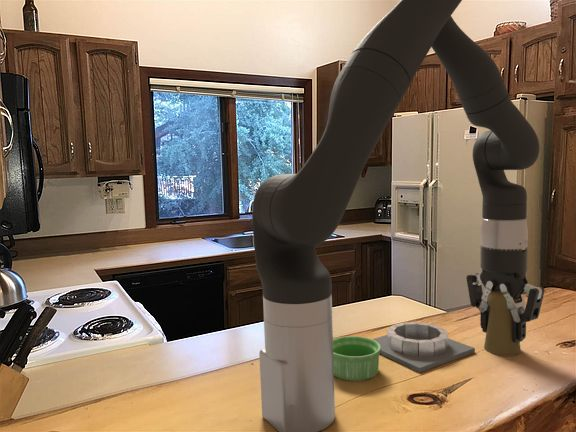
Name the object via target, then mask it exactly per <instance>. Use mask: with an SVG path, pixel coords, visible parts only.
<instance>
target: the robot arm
mask: <svg viewBox="0 0 576 432" xmlns="http://www.w3.org/2000/svg"><path fill="white" fill-rule="evenodd" d="M462 1H463V0H399V2H398V3H396V4H395V6H394V7H392V9H391V10H389V12H388V13H386V14H385V16H383V17H382V18H380V20H379V21H378V22H377V23H376V24H374V26H373V27H372V28H371V29H370V30H369V31H368V32H367V34H365V35H364V37H362V39H361V40H360V41H359V42H358V44H357V45H356V46H355V47H354V49H353V50H352V53H351V54H350V56H349V58H347V61H346V62H345V63H344V66H343V67H342V69H341V70H340V72H339V73H338V75H337V77H336V79H335V81H334V84H333V87H332V89H331V94H330V98H329V105H328V106H329V107H328V116H327V122H326V125H325V129H324V131H323V134H322V136H321V138H320V140H319V142H318V144H317V145H316V146H315V148H314V150H313V151H312V153H311V155H310V156H309V157H308V159H307V160H306V162H304V165H303V166H302V167H301V168H300V170H299V171H298V172H297V173H280V174H276V175H273V176H271V177H268V178H267V179H265V180H264V181H263V182H262V183H261V184H260V186H259V187H258V188H257V190H256V192H255V195H254V198H253V202H252V210H251V211H252V212H251V215H252V216H251V220H252V233H253V245H254V246H253V247H254V258H255V267H256V271H257V274H258V277H259V279H260V284H261V287H262V303H263V305H262V306H263V309H262V310H263V327H264V328H263V329H264V330H263V332H264V348H263V349H260V350H259V374H260V375H259V376H260V377H259V378H260V397H261V398H260V399H261V416H262V418H263V419H265V420H266V421H267V422H268V423H269V424H270V425H271V426H272V427H273V428H274V429H275V430H276V431H278V432H320V431H323V430H325V429H326V428H328V427H329V426H331V425H332V424H333V422H334V420H335V418H336V407H335V406H336V405H335V403H336V401H335V399H336V397H335V376H334V361H333V339H334V335H333V332H334V331H333V298H332V297H333V295H332V293H333V290H332V287H333V286H332V284H333V283H332V276H331V274H330V272H329V270H328V269H327V268H326V266H324V265H323V263H322V261H321V259H320V258H319V256H318V254H317V252H316V247H317V246H319V245H321V244H323V243H325V242H326V241H327V240H328V239H330V238H331V236H333V234H334V232H336V230H337V228H338V226H339V225H340V222H341V221H342V218H343V217H344V214H345V212H346V210H347V208H348V206H349V203H350V200H351V198H352V196H353V194H354V191H355V188H356V186H357V184H358V182H359V180H360V177H361V175H362V173H363V170H364V168H365V166H366V164H367V162H368V160H369V158H370V157H371V155H372V153H373V151H374V149H375V147H376V146H377V144H378V142H379V140H380V139H381V136H382V134H383V133H384V131H385V129H386V127H387V125H388V123H389V122H390V120H391V119H392V117H393V116H394V113H395V112H396V111H397V109H398V107H399V106H400V104H401V102H402V100H403V98H404V97H405V95H406V93H407V92H408V90H409V88H410V86H411V84H412V82H413V80H414V78H415V76H416V75H417V72H418V70H419V69H420V67H421V66H422V64H423V61H424V60H425V58H426V56H427V55H428V53H429V52H430V50H431V49H432V50H433V51H434V53H435V54H436V56H437V58H438V59H439V61H440V64H441V65H442V66H443V68H444V70H446V73H447V75H448V77H449V79H450V80H451V82H452V85H453V87H454V89H455V92H456V94H457V97H458V99H459V101H460V104H461V106H462V108H463V110H464V113H465V115H466V118H467V120H468V121H469V122H470V124H471V125H473V126H475V127H479V128H484V129H488V130H486V131H484V132H482V133H480V134H479V135H478V136H477V138H476V140H475V141H474V144H473V147H472V161H473V167H474V170H475V173H476V177H477V180H478V184H479V187H480V192H481V196H482V206H481V207H482V211H481V212H482V213H481V214H482V218H481V219H482V220H481V226H480V263H479V264H480V268H481V273H476V272H475V273H472V274H469V275H468V274H467V276H466V278H465V279H466V284H467V291H468V297H469V301H470V305H471V307H473V308H477V309H478V311H479V313H480V323H479V324H480V328H481V331H482V332H483V333H485V334H486V332H487V325H488V319H489V313H490V306H489V304H488V302H487V297H488V294H489V293H490V292H492V291H500V292H502V294H503V295H504V296H505V298H506V300H507V307H508V309H509V310H511V313H512V316H513V319H514V321H513V322H512V341H513V342H516V343H519V342H520V343H521V342H524V340H525V339H526V337H527V323H528V322H531V321H534V320H538V319H539V316H540V312H541V307H542V304H543V299H544V295H545V287H543V286H535V285H533V284H530V283H529V282H528V279H527V276H526V273H527V270H528V249H529V248H528V247H529V246H528V243H529V238H528V237H529V231H528V224H527V207H528V206H527V201H528V196H527V189H526V188H525V187H524V186H522V185H520V184H516V183H514V182H510V180H508V178H507V175H506V172H505V171H520V170H526V169H529V168H531V167H532V166H533V165H534V164H535V163H536V162H537V160H538V158H539V156H540V141H539V138H538V134H537V133H536V131H535V130H534V128H533V127H532V125H531V124H530V123H529V121H528V120H527V118H526V117H525V116H524V115H523V114H522V113H521V111H520V110H519V109H518V107H517V106H516V105H515V104H514V102H513V101H512V100H511V97H510V94H509V92H508V90H507V87H506V84H505V82H504V79H503V76H502V73H501V71H500V69H499V67H498V66H497V64H496V62H495V61H494V59H493V58H492V57H491V56H490V54H488V53H487V51H486V50H484V49H483V48H482V47H481V46H480V45H478V44H477V43H476V42H475V41H474V40H473V39H472V38H470V37H469V36H468V35H467V34H466V33H465V31H463V29H461V27H460V26H459V25H458V24H457V22H455V20H454V18H453V16H452V15H453V14H454V12H455V11H456V9H457V8H458V7H459V5H460V4H461V2H462ZM482 285H483V286H482ZM483 288H484V291H483ZM524 292H525V297H526V298H527V300H525V298H524V294H523V293H524ZM518 298H519V303H514V300H515V299H518Z"/></svg>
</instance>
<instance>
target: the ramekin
mask: <svg viewBox="0 0 576 432" xmlns="http://www.w3.org/2000/svg"><path fill="white" fill-rule="evenodd" d="M372 339H373V338H370V337H365V336H358V335H357V336H356V335H352V336H351V335H350V336H349V335H348V336H347V335H346V336H340V337H335V338H333V361H334V377H336V378H337V379H341V380H344V381H349V380H350V381H351V382H357V381H358V382H360V381H359V380H361V381H366V379H367V380H369V378H370V379H371V378H373V377H375V376H376V375H377V373H379V372H378V371H379V365H380V364H379V363H380V361H379V359H380V354H379V353H380V350H381V346H380V344H379V343H378V342H376V341H375V340H372ZM352 380H353V381H352Z"/></svg>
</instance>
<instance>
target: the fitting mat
mask: <svg viewBox="0 0 576 432" xmlns="http://www.w3.org/2000/svg"><path fill="white" fill-rule="evenodd" d="M404 338H407V339H414V340H431V339H428V338H422V337H404ZM371 339H372V340H375V341H376V342H378V343H379V344H380V346H381V350H380V353H379V355H381V356H383V357H386V358H387V359H389V360H391V359H392V360H391V361H393V362H396V363H397V364H399V365H403V366H405V367H407V368H408V369H410V370H413V371H414V372H417V373H418V374H419V373H422V372H425V371H428V370H430V369H433V368H436V367H438V366H442V365H444V364H447V363H449V362H452V361H455V360H458V359H461V358H464V357H466V356H468V355H472V354H475V353H476V352H475V351H476V350H475V349H476V348H475V347H473V346H470V345H467V344H466V343H465V344H464V343H463V342H459V341H456V340H454V339H451V338H449V337H448V348H447V350H446V352H445V353H442V354H439V355H436V356H425V357H419V356H418V357H417V356H410V355H404V354H401V353H399V352H396V351H394V350H392V349H391V348H390V347H389V345H388V344H387V334H386V335H382V336H378V337H376V338H371Z"/></svg>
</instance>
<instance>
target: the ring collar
mask: <svg viewBox="0 0 576 432" xmlns="http://www.w3.org/2000/svg"><path fill="white" fill-rule="evenodd" d="M386 331H387V332H386V335H387V344H388V345H389V347H390V348H391V349H392V350H394V351H396V352H399V353H401V354H404V355H410V356H417V357H418V356H419V357H425V356H436V355H439V354H442V353H445V352H446V350H447V348H448V338H449V333H448V331H446V329H444V328H443V327H441V326H439V325H435V324H432V323H427V322H420V321H410V322H409V321H408V322H407V321H406V322H400V323H397V324H392V325H390V327H388V329H387V330H386ZM404 337H422V338H428V339H431V340H414V339H407V338H404Z"/></svg>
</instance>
